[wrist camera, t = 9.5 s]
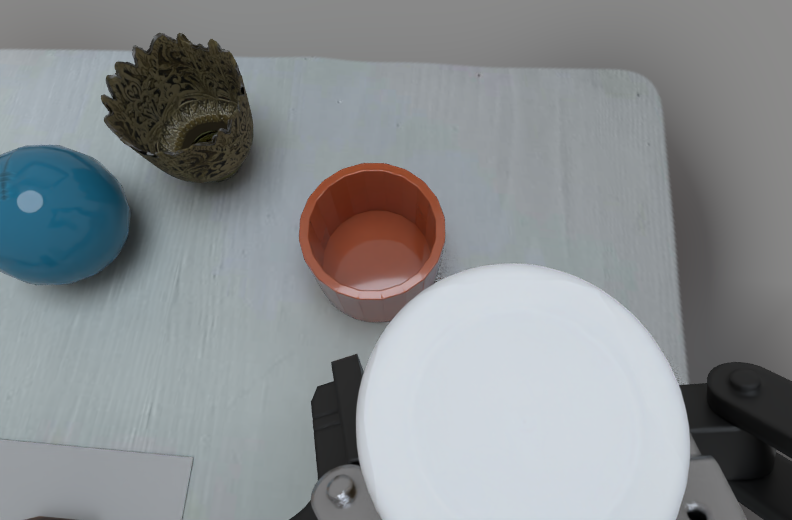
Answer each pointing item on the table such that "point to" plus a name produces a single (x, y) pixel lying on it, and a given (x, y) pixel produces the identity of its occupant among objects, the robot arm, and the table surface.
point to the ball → (58, 215)
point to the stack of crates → (89, 483)
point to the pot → (372, 239)
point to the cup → (182, 108)
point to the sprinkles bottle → (520, 405)
